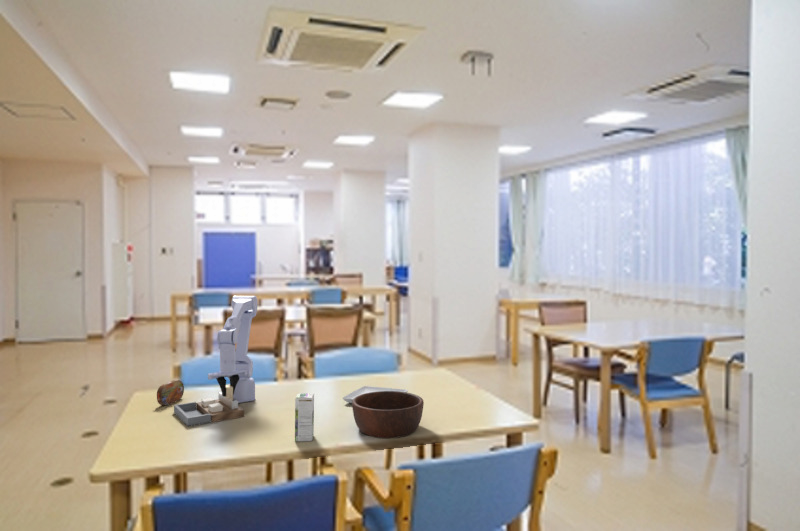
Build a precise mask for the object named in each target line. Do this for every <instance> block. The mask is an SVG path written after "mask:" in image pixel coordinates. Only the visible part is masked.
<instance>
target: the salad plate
mask: <svg viewBox="0 0 800 531" xmlns="http://www.w3.org/2000/svg"><path fill="white" fill-rule="evenodd" d="M378 391H399V392H407V393H408V391H409V390H408V389H402V388H392V387H382V386H371V385H370V386H369V385H363V386H362V387H359V388H358V389H356V390H353V391H351V392H350V393H348V394H346V395H344V396H342V400H343V401H344V402H346V403H349V404H352V401H353V399H354V398H355V397H357V396H359V395H362V394H365V393H370V392H378Z"/></svg>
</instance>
